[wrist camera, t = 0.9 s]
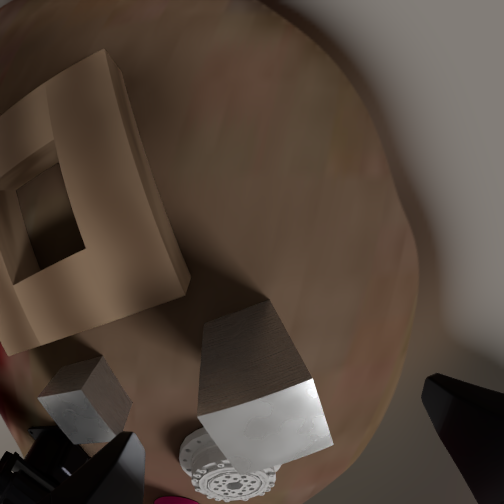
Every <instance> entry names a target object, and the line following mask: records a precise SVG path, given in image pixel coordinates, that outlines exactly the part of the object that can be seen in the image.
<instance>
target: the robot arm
mask: <svg viewBox="0 0 504 504" xmlns="http://www.w3.org/2000/svg"><path fill="white" fill-rule="evenodd" d="M421 398H422V402H423V405H424V407H425V409H426V410H427V413H428V415H429V417H430V419H431V421H432V423H433V425H434V427H435V430H436V432H437V434H438V436H439V437H440V439H441V441H442V442H443V444H444V446H445V447H446V449H447V450H448V452H449V454H450V455H451V457H452V459H453V461H454V462H455V464H456V466H457V467H458V469H459V471H460V472H461V474H462V476H463V478H464V479H465V481H466V483H467V485H468V486H469V488H470V490H471V492H472V493H473V495H474V497H475V499H476V501H477V502H478V504H504V393H500V392H497V391H494V390H490V389H487V388H483V387H480V386H477V385H474V384H470V383H467V382H464V381H461V380H458V379H455V378H452V377H449V376H446V375H443V374H440V373H435V374H433V375H430V376H428V377H427V378H426V380H425V383H424V387H423V391H422V395H421ZM28 432H29V433H30V434H31V436H32V437H33V438H34V439H35V442H34V443H33V445H32V447H31V448H30V450H29V452H28V454H27V455H26V457H25V459H23V458H21V457H20V456H19V454H18V453H17V452H15V453H14V454H12V453H10V452H8V451H6V452H5V453H4V455H3V457H2V458H1V460H0V504H143V496H144V473H145V450H144V447H143V446H142V444H141V442H140V441H139V439H138V437H137V436H136V434H135V433H134V432H126V431H122V432H120V433H119V434H118V435H116V436H115V437H114V438H113V439H112V440H111V441H110V442H109V443H108V444H106V445H105V446H104V447H103V448H102V449H101V450H100V451H98V452H97V453H96V454H95V455H94V456H93V457H92V458H90V457H89V456H88V455H87V454H86V453H85V452H84V451H83V450H82V449H81V448H80V446H79V445H78V444H73V443H72V442H71V440H70V439H69V438H68V437H67V436H66V435H65V433H64V432H63V431H62V430H61V429H60V427H59V426H47V427H30V428H29V429H28ZM11 470H12V471H13V472H14V473H12V472H11Z"/></svg>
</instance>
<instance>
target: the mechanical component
mask: <svg viewBox="0 0 504 504" xmlns="http://www.w3.org/2000/svg"><path fill="white" fill-rule="evenodd" d="M179 460H180V465H181V467H182V468H183V470H184V471H185V472H186V473H187V474H188V475H189V476H191V477H192V484H193V486H194V487H195V491H199V492H201V493H203V494H205V495H207V498H209V499H211V498H215V500H216V501H220V500H221V499H223V500H224V501H225V502H229V501H230V500H242V499H243V501H247V500H248V498H251V497H254V496H257V495H264V494H265V491H266V492H268V491H270V490H271V489H270V487H273V486H275V485H274V482H275V479H276V475H275V472H276V471H277V470H278V469H279V468H280V466H281V464H280V465H277V466H274V467H271V468H267V469H264V470H260V471H256V472H253V473H249V474H245V475H241V476H240V475H239V473H238V472H237V471H236V470H235V468H234V467H233V466H232V465H231V463H230V462H229V461H228V459H227V458H226V457H225V455H224V454H223V453H222V451H221V450H220V449H219V447H218V446H217V445H216V443H215V442H214V441H213V439H212V438H211V436H210V435H209V433H208V432H207V431H206V429H205V428H204V427H203V428H200V429H198V430H196V431H194V432H193V433H191V434H190V435H188V436H187V437H186V438H185V440H184V441H183V443H182V445H181V447H180V454H179Z"/></svg>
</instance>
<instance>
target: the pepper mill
mask: <svg viewBox="0 0 504 504" xmlns="http://www.w3.org/2000/svg"><path fill="white" fill-rule="evenodd" d="M154 504H199V503H197V502H195V501H193V500H190V499H187V498H182V497H174V496H167V497H161V498H158V499H156V500H155V502H154Z"/></svg>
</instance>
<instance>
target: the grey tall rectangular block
mask: <svg viewBox="0 0 504 504" xmlns="http://www.w3.org/2000/svg"><path fill="white" fill-rule="evenodd" d="M197 417H198V419H199V420H200V422H201V423H202V425H203V426H204V428H205V429H206V431H207V432H208V433H209V435H210V436H211V438H212V439H213V441H214V442H215V443H216V445H217V446H218V447H219V449H220V450H221V451H222V453H223V454H224V455H225V457H226V458H227V459H228V461H229V462H230V463H231V465H232V466H233V467H234V468H235V470H236V471H237V472H238V473H239V475H240V476H241V475H245V474H249V473H253V472H256V471H260V470H264V469H267V468H271V467H274V466H277V465H280V464H283V463H287V462H290V461H293V460H295V459H298V458H301V457H304V456H307V455H309V454H312V453H315V452H317V451H320V450H322V449H325V448H327V447H330V446H332V445H333V442H332V438H331V435H330V432H329V429H328V425H327V422H326V419H325V416H324V413H323V409H322V406H321V403H320V400H319V397H318V394H317V391H316V388H315V384H314V381H313V378H312V376H311V375H310V373H309V371H308V369H307V367H306V365H305V364H304V362H303V360H302V358H301V356H300V354H299V353H298V351H297V349H296V347H295V345H294V343H293V342H292V340H291V338H290V336H289V334H288V332H287V331H286V329H285V327H284V325H283V323H282V321H281V319H280V318H279V316H278V314H277V312H276V310H275V308H274V307H273V305H272V303H271V301H270V299H269V300H267V301H264V302H261V303H259V304H256V305H253V306H251V307H248V308H245V309H243V310H240V311H237V312H234V313H232V314H229V315H226V316H223V317H221V318H218V319H215V320H212V321H209V322H206V323H204V328H203V340H202V352H201V364H200V378H199V393H198V409H197Z"/></svg>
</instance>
